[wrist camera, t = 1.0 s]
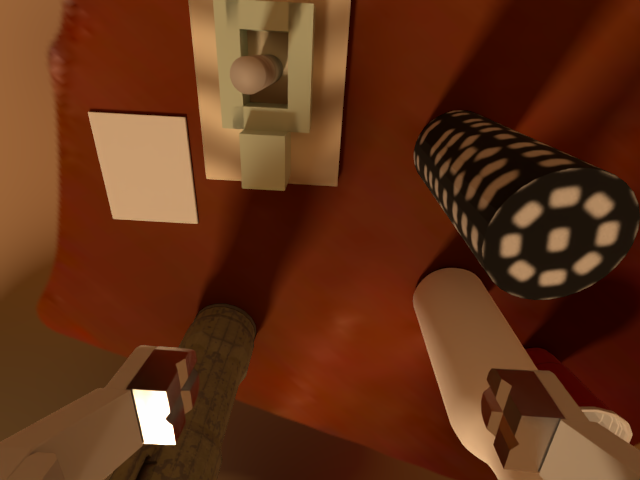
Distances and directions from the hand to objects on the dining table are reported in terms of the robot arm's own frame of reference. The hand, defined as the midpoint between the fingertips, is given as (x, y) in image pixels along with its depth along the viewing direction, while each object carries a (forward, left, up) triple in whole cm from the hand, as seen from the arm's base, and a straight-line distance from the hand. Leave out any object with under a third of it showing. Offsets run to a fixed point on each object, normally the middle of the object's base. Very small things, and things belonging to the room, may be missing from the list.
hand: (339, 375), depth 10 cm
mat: (+5, -20, -31) cm, 38 cm away
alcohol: (+19, +16, -32) cm, 40 cm away
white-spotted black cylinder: (+1, +13, -32) cm, 34 cm away
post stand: (-4, -6, -31) cm, 32 cm away
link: (-4, -6, -30) cm, 31 cm away
